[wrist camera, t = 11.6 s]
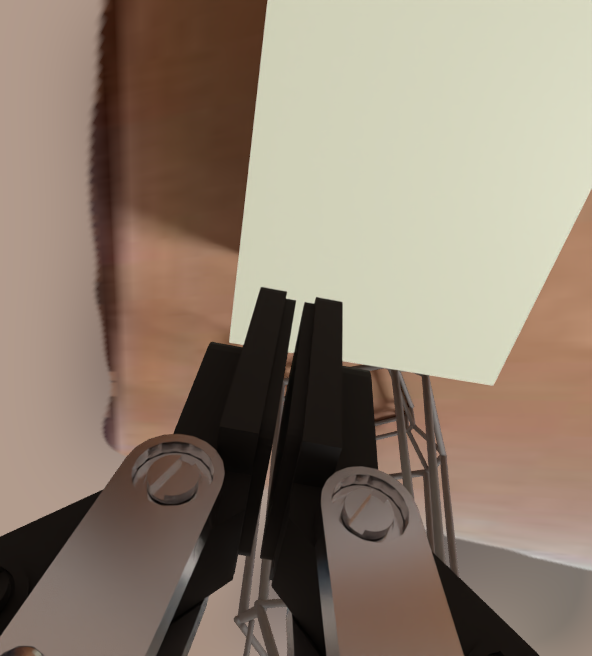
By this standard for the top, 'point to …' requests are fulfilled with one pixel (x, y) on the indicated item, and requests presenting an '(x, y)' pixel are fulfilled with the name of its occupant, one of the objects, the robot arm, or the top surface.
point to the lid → (417, 171)
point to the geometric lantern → (428, 474)
